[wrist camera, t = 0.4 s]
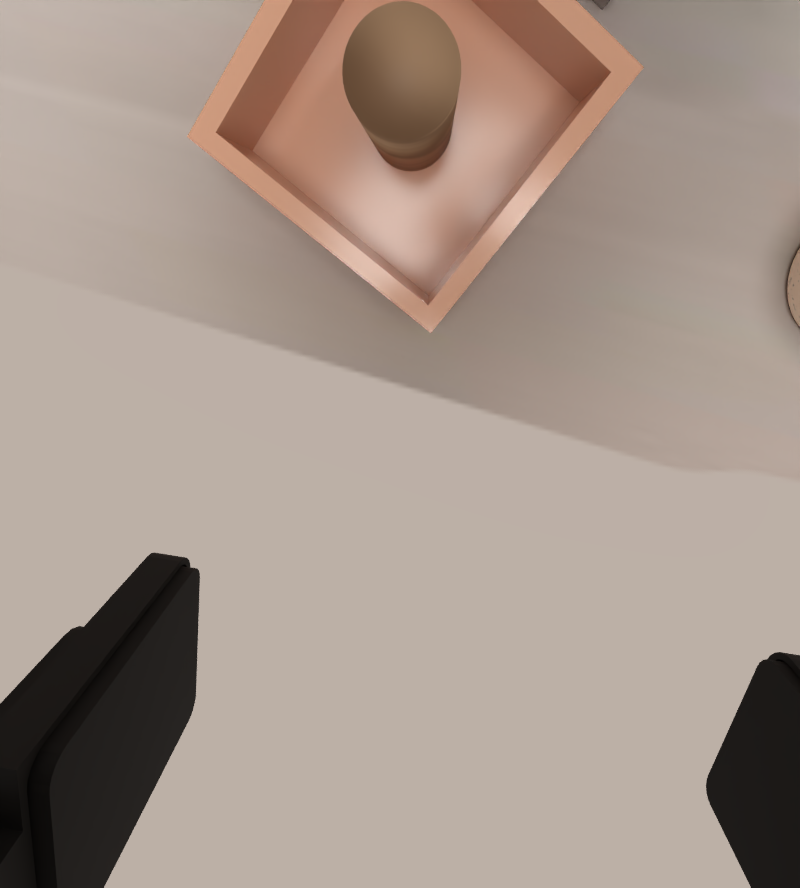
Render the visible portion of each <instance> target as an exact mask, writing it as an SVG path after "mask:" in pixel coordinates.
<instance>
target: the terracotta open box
mask: <svg viewBox="0 0 800 888" xmlns="http://www.w3.org/2000/svg"><path fill="white" fill-rule="evenodd" d="M397 1H409V2H414V3H418V4H421V5H423V6H426V7H427V8H429V9H431V10H433V11H434V12H435V13H436V14H438V15H439V16H440V17H441V18H442V19H443V20H444V21H445V23H446V24H447V25H448V27H449V28H450V30H451V32H452V33H453V35H454V37H455V40H456V42H457V45H458V49H459V53H460V59H461V80H460V87H459V92H458V98H457V104H456V110H455V115H454V121H453V127H452V133H451V137H450V141H449V144H448V146H447V148H446V150H445V152H444V153H443V155H442V156H441V157H440V158H439V159H438V160H437V161H436V162H435V163H434V164H433V165H431V166H429V167H427V168H425V169H423V170H419V171H403V170H400V169H397V168H395V167H393V166H391V165H390V164H389V163H387V162H386V161H385V160H384V159H383V158H382V156H381V155H380V154H379V152H378V151H377V149H376V147H375V146H374V144H373V142H372V141H371V139H370V137H369V136H368V134H367V133H366V131H365V129H364V128H363V126H362V124H361V123H360V121H359V119H358V118H357V116H356V115H355V113H354V111H353V110H352V108H351V106H350V104H349V102H348V99H347V96H346V93H345V90H344V85H343V76H342V66H343V58H344V53H345V49H346V46H347V43H348V40H349V38H350V36H351V34H352V32H353V31H354V29H355V28H356V26H357V25H358V23H359V22H360V21H361V20H362V19H363V18H364V17H365V16H366V15H367V14H369V13H370V12H371V11H373V10H374V9H376V8H378V7H379V6H382V5H384V4H387V3H391V2H397ZM643 68H644V67H643V66H642V65H641V64H640V63H639V62H638V61H637V60H636V59H635V58H634V57H633V56H632V55H631V54H630V53H629V52H628V51H627V50H626V49H625V48H624V47H623V46H622V45H621V44H620V43H619V42H618V41H617V40H616V39H615V38H614V37H613V36H612V35H611V34H610V33H609V32H608V31H607V30H606V29H605V28H604V27H602V26H601V25H600V24H599V23H598V22H597V21H596V20H595V19H594V18H593V17H592V16H591V15H590V14H589V13H588V12H587V11H586V10H585V9H584V8H583V7H582V6H581V5H580V4H579V3H578V2H577V1H576V0H264V2H263V4H262V6H261V7H260V9H259V11H258V13H257V15H256V16H255V18H254V20H253V22H252V23H251V25H250V27H249V29H248V30H247V32H246V34H245V36H244V37H243V39H242V41H241V43H240V44H239V46H238V48H237V50H236V52H235V53H234V55H233V57H232V59H231V60H230V62H229V64H228V66H227V67H226V69H225V71H224V73H223V74H222V76H221V78H220V80H219V81H218V83H217V85H216V87H215V88H214V90H213V92H212V94H211V96H210V97H209V99H208V101H207V103H206V104H205V106H204V108H203V110H202V111H201V113H200V115H199V117H198V118H197V120H196V122H195V124H194V125H193V127H192V129H191V131H190V133H189V134H188V136H187V137H188V138H189V139H191V140H192V141H193V142H194V143H196V144H197V145H198V146H199V147H201V148H202V149H203V150H204V151H206V152H207V153H208V154H209V155H211V156H212V157H213V158H214V159H216V160H217V161H218V162H219V163H220V164H222V165H223V166H224V167H225V168H227V169H228V170H229V171H230V172H232V173H233V174H234V175H235V176H237V177H238V178H239V179H240V180H242V181H243V182H244V183H245V184H247V185H248V186H249V187H250V188H251V189H253V190H254V191H255V192H256V193H258V194H259V195H260V196H261V197H263V198H264V199H265V200H266V201H268V202H269V203H270V204H271V205H273V206H274V207H275V208H276V209H278V210H279V211H280V212H281V213H283V214H284V215H285V216H286V217H287V218H289V219H290V220H291V221H292V222H294V223H295V224H296V225H297V226H299V227H300V228H301V229H302V230H304V231H305V232H306V233H307V234H309V235H310V236H311V237H312V238H314V239H315V240H316V241H317V242H318V243H320V244H321V245H322V246H323V247H325V248H326V249H327V250H328V251H330V252H331V253H332V254H333V255H335V256H336V257H337V258H338V259H340V260H341V261H342V262H343V263H345V264H346V265H347V266H348V267H350V268H351V269H352V270H353V271H354V272H356V273H357V274H358V275H359V276H361V277H362V278H363V279H364V280H366V281H367V282H368V283H369V284H371V285H372V286H373V287H374V288H376V289H377V290H378V291H379V292H381V293H382V294H383V295H384V296H385V297H387V298H388V299H389V300H390V301H392V302H393V303H394V304H395V305H397V306H398V307H399V308H400V309H402V310H403V311H404V312H405V313H407V314H408V315H409V316H410V317H412V318H413V319H414V320H415V321H417V322H418V323H419V324H420V325H421V326H423V327H424V328H425V329H426V330H428V331H429V332H430V333H432V331H433V330H434V329H435V328H436V326H437V325H438V324H439V323H440V321H441V320H442V319H443V318H444V316H445V315H446V314H447V313H448V311H449V310H450V309H451V308H452V306H453V305H454V304H455V303H456V301H457V300H458V299H459V298H460V296H461V295H462V294H463V293H464V291H465V290H466V289H467V288H468V286H469V285H470V284H471V283H472V281H473V280H474V279H475V278H476V276H477V275H478V274H479V273H480V271H481V270H482V269H483V268H484V266H485V265H486V264H487V263H488V261H489V260H490V259H491V258H492V256H493V255H494V254H495V253H496V251H497V250H498V249H499V248H500V246H501V245H502V244H503V243H504V241H505V240H506V239H507V238H508V236H509V235H510V234H511V233H512V231H513V230H514V229H515V228H516V226H517V225H518V224H519V223H520V221H521V220H522V219H523V218H524V216H525V215H526V214H527V213H528V211H529V210H530V209H531V208H532V206H533V205H534V204H535V203H536V201H537V200H538V199H539V198H540V196H541V195H542V194H543V193H544V191H545V190H546V189H547V188H548V186H549V185H550V184H551V183H552V181H553V180H554V179H555V178H556V176H557V175H558V174H559V173H560V171H561V170H562V169H563V168H564V166H565V165H566V164H567V163H568V161H569V160H570V159H571V158H572V156H573V155H574V154H575V153H576V151H577V150H578V149H579V148H580V146H581V145H582V144H583V143H584V141H585V140H586V139H587V138H588V136H589V135H590V134H591V133H592V131H593V130H594V129H595V128H596V126H597V125H598V124H599V123H600V121H601V120H602V119H603V118H604V116H605V115H606V114H607V113H608V111H609V110H610V109H611V108H612V106H613V105H614V104H615V103H616V101H617V100H618V99H619V98H620V96H621V95H622V94H623V93H624V91H625V90H626V89H627V88H628V86H629V85H630V84H631V83H632V81H633V80H634V79H635V78H636V76H637V75H638V74H639V73H640V71H641V70H642V69H643Z"/></svg>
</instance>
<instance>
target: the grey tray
mask: <svg viewBox="0 0 800 888" xmlns="http://www.w3.org/2000/svg"><path fill="white" fill-rule="evenodd" d="M593 1H594V2H595V3H596V4H597V5H598V6H599V7H600V8H601V9H602V10H603V8H604V7H605V6H606V4H607V3H608V2H609V0H593Z"/></svg>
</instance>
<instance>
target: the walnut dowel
mask: <svg viewBox="0 0 800 888" xmlns="http://www.w3.org/2000/svg"><path fill="white" fill-rule="evenodd" d="M342 76H343V85H344V90H345V93H346V96H347V99H348V102H349V104H350V106H351V108H352V110H353V111H354V113H355V115H356V116H357V118H358V119H359V121H360V123H361V124H362V126H363V128H364V129H365V131H366V133H367V134H368V136H369V137H370V139H371V141H372V142H373V144H374V146H375V147H376V149H377V151H378V152H379V154H380V155H381V156H382V158H383V159H384V160H385V161H386V162H387V163H389V164H390V165H391V166H393V167H395V168H397V169H400V170H403V171H419V170H423V169H425V168H427V167H429V166H431V165H433V164H434V163H435V162H436V161H437V160H438V159H439V158H440V157H441V156H442V155H443V153H444V152H445V150H446V148H447V146H448V144H449V141H450V137H451V133H452V127H453V121H454V115H455V110H456V104H457V98H458V92H459V87H460V80H461V59H460V53H459V49H458V45H457V42H456V40H455V37H454V35H453V33H452V32H451V30H450V28H449V27H448V25H447V24H446V23H445V21H444V20H443V19H442V18H441V17H440V16H439V15H438V14H436V13H435V12H434V11H433V10H431V9H429V8H427V7H426V6H423V5H421V4H418V3H414V2H409V1H397V2H391V3H387V4H384V5H382V6H379V7H378V8H376V9H374V10H373V11H371V12H370V13H369V14H367V15H366V16H365V17H364V18H363V19H362V20H361V21H360V22H359V23H358V25H357V26H356V28H355V29H354V31H353V32H352V34H351V36H350V38H349V40H348V43H347V46H346V49H345V53H344V58H343V66H342Z"/></svg>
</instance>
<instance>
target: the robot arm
mask: <svg viewBox="0 0 800 888" xmlns="http://www.w3.org/2000/svg"><path fill="white" fill-rule="evenodd" d="M199 575H200V574H199V570H198V569H195V568H190V562H189V560H188V559H187V558H185V557H178V556H172V555H166V554H159V553H151V554H150V555H149V556H147V558H146V559H145V560H144V561H143V562H142V563H141V564H140V565H139V567H138V568H137V569H136V570H135V571H134V572H133V573H132V574H131V576H130V577H128V579H127V580H126V581H125V582H124V583H123V584H122V585H121V586H120V587H119V589H118V590H117V591H116V592H115V593H114V594H113V595H112V596H111V597H110V599H109V600H108V601H107V602H106V603H105V604H104V605H103V606H102V607H101V609H100V610H99V611H98V612H97V613H96V614H95V615H94V616H93V617H92V618H91V620H90V621H89V622H88V623H87V624H86V625H85V626H84V627H81V626H79V627H76V628H73V629H71V630H70V631H69V632H68V633H67V634H65V635H64V636H63V638H61V639H60V641H59V642H58V643H57V644H56V645H55V646H54V647H53V648H52V649H51V650H50V651H49V652H48V654H47V655H46V656H45V657H44V658H43V659H42V660H41V661H40V662H39V663H38V664H37V665H36V666H35V667H34V668H33V669H32V671H31V672H30V673H29V674H28V675H27V676H26V677H25V678H24V679H23V680H22V681H21V682H20V683H19V684H18V686H17V687H16V688H15V689H14V690H13V691H12V692H11V693H10V694H9V695H8V696H7V697H6V698H5V699H4V701H3V702H2V703H1V704H0V888H104V886H105V884H106V882H107V880H108V878H109V876H110V874H111V872H112V870H113V868H114V866H115V864H116V862H117V860H118V858H119V857H120V854H121V853H122V851H123V849H124V847H125V845H126V843H127V841H128V839H129V837H130V835H131V833H132V831H133V829H134V827H135V825H136V823H137V821H138V819H139V817H140V815H141V813H142V811H143V809H144V807H145V805H146V803H147V802H148V799H149V797H150V795H151V794H152V791H153V790H154V788H155V786H156V784H157V782H158V780H159V778H160V776H161V774H162V772H163V770H164V768H165V766H166V764H167V762H168V760H169V758H170V756H171V754H172V752H173V750H174V748H175V746H176V745H177V743H178V741H179V739H180V736H181V735H182V732H183V730H184V729H185V727H186V724H187V723H188V721H189V719H190V716H191V714H192V711H193V706H194V703H195V697H196V671H197V641H198V613H199V583H200V576H199ZM706 788H707V789H706V790H707V796H708V800H709V802H710V805H711V807H712V809H713V811H714V813H715V815H716V817H717V819H718V821H719V823H720V825H721V827H722V829H723V831H724V833H725V835H726V837H727V839H728V841H729V844H730V846H731V848H732V849H733V851H734V853H735V856H736V858H737V860H738V862H739V864H740V866H741V868H742V870H743V872H744V874H745V876H746V878H747V880H748V882H749V884H750V886H751V888H800V655H793V654H788V653H781V652H778V653H774V654H772V655H771V656H770V657H769V658H768V659H767V660H763V661H761V662H760V663H759V665H758V666H757V668H756V671H755V673H754V675H753V677H752V679H751V682H750V684H749V686H748V689H747V691H746V693H745V695H744V697H743V699H742V702H741V704H740V706H739V708H738V710H737V713H736V715H735V717H734V719H733V722H732V724H731V726H730V728H729V730H728V733H727V735H726V737H725V739H724V742H723V744H722V746H721V748H720V750H719V753H718V755H717V757H716V759H715V762H714V764H713V766H712V768H711V770H710V773H709V775H708V778H707V783H706Z"/></svg>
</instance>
